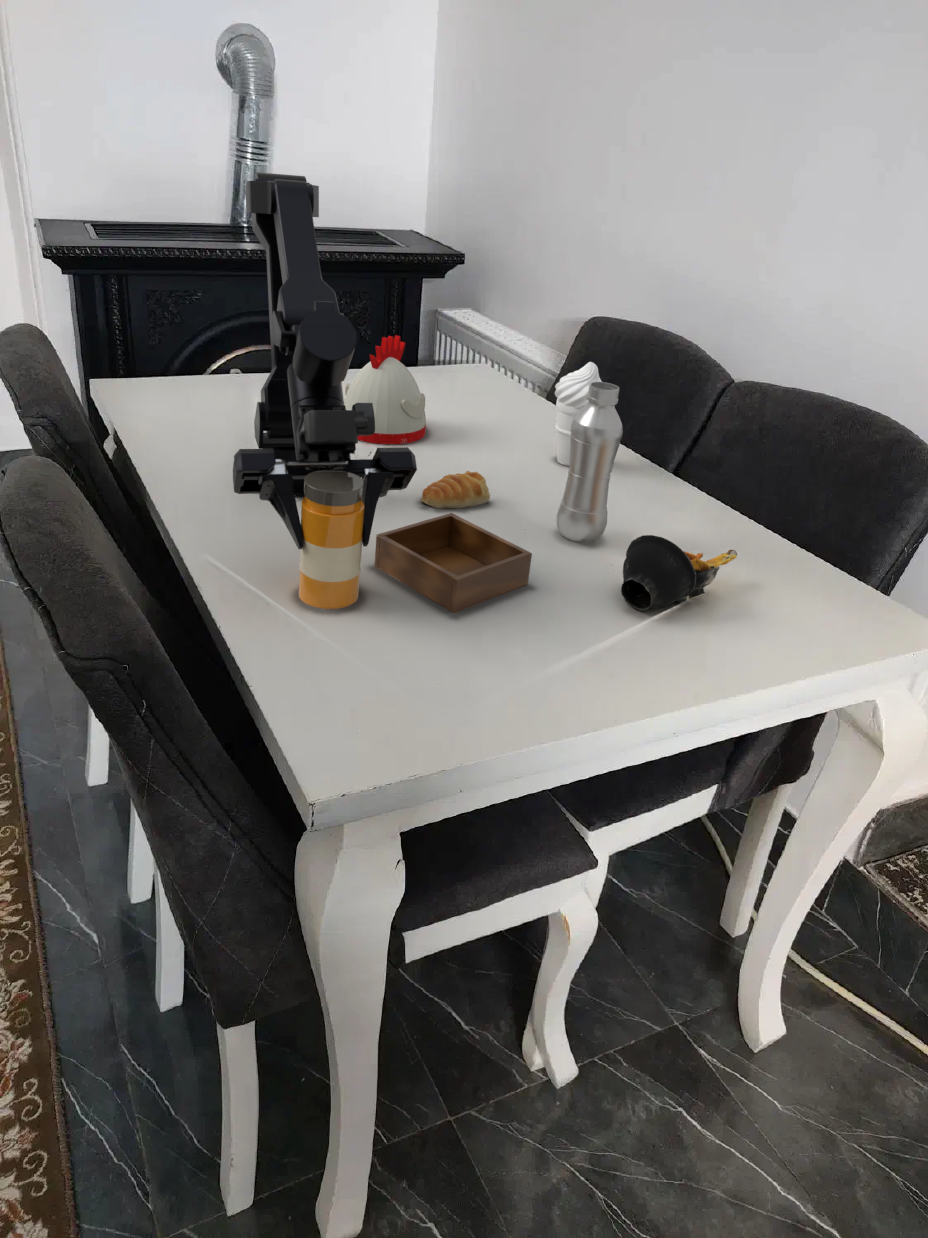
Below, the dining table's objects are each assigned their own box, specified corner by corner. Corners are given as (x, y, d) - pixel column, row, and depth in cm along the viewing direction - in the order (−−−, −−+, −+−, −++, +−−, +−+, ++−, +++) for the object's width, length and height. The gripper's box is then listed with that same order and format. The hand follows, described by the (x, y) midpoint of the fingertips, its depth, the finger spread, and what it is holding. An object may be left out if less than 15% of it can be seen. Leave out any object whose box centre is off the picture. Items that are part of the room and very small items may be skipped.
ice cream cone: (537, 463, 144) (552, 361, 136) (553, 449, 150) (567, 350, 143) (588, 475, 141) (606, 371, 133) (602, 460, 148) (620, 360, 140)
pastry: (439, 517, 122) (442, 490, 120) (409, 499, 126) (411, 473, 124) (493, 505, 127) (496, 479, 125) (462, 488, 132) (465, 463, 130)
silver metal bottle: (572, 551, 117) (598, 395, 107) (544, 529, 122) (567, 379, 112) (613, 545, 119) (643, 393, 110) (584, 524, 124) (610, 377, 115)
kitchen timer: (441, 431, 153) (449, 339, 145) (392, 450, 142) (398, 352, 135) (374, 411, 159) (378, 322, 151) (322, 428, 148) (324, 333, 141)
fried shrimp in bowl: (589, 562, 103) (670, 479, 112) (622, 640, 108) (696, 555, 117) (658, 564, 96) (737, 476, 106) (689, 647, 101) (762, 556, 110)
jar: (294, 583, 101) (297, 468, 95) (352, 581, 103) (359, 468, 97) (303, 613, 96) (307, 493, 90) (363, 610, 98) (372, 493, 92)
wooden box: (374, 568, 107) (376, 534, 105) (448, 545, 114) (451, 512, 112) (453, 616, 99) (457, 580, 97) (527, 587, 107) (532, 553, 104)
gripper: (232, 369, 89) (246, 522, 85) (419, 372, 94) (439, 516, 91) (227, 422, 99) (239, 560, 95) (396, 422, 105) (413, 552, 101)
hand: (333, 546), depth 95 cm, fingers closed on jar, 6 cm apart
